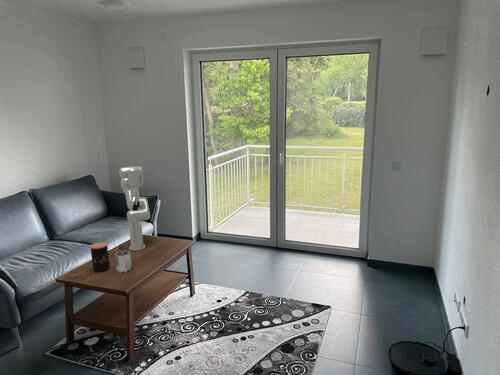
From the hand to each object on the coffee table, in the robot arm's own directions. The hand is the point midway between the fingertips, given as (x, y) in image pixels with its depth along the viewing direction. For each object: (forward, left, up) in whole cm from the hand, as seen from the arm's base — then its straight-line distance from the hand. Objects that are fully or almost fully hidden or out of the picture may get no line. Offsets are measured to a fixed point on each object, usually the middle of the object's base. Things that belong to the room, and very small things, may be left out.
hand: (136, 208), depth 270 cm
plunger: (+18, -9, -35) cm, 40 cm away
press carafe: (+17, -9, -38) cm, 43 cm away
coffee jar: (+14, -25, -38) cm, 48 cm away
